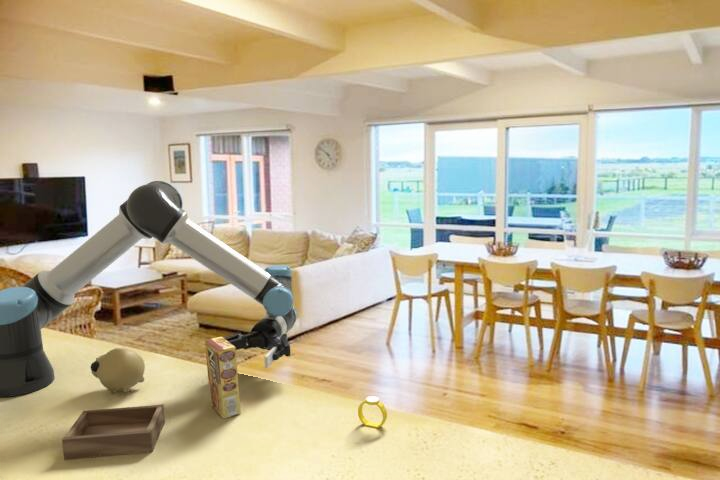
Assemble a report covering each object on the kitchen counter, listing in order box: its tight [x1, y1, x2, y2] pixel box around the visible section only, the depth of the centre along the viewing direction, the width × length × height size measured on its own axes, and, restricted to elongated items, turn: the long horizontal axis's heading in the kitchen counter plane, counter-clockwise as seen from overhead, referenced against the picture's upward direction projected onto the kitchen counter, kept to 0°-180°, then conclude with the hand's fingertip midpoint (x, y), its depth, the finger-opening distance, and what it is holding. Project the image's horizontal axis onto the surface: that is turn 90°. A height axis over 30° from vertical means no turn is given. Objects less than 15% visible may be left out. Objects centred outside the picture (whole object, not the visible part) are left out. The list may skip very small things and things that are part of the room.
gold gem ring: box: [357, 395, 388, 429], centre depth 119 cm, size 6×3×6 cm, turn 64°
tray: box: [61, 404, 166, 461], centre depth 116 cm, size 12×16×4 cm
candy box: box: [204, 336, 241, 419], centre depth 127 cm, size 9×4×15 cm, turn 33°
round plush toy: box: [90, 347, 146, 395], centre depth 139 cm, size 10×12×11 cm
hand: (238, 361), depth 135 cm, fingers open, 13 cm apart
